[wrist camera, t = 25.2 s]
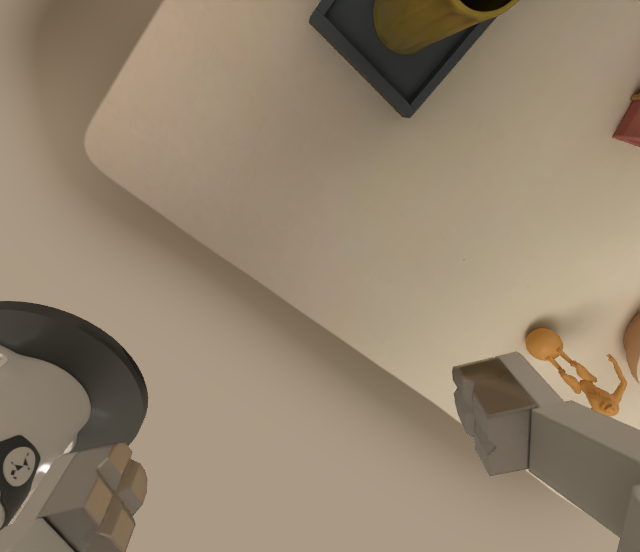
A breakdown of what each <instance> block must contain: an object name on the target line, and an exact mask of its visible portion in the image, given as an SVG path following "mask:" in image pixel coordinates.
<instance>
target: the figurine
mask: <svg viewBox="0 0 640 552" xmlns="http://www.w3.org/2000/svg"><path fill="white" fill-rule="evenodd" d="M526 348H527V350H528V352H529V353H530V354H531V355H532V356H533V357H535V358H537V359H539V360H544V361H550V362H551V363H552V364H553V365H554V366H555V367H556V368H557V369H558V370H559V371H558V372H559V374H560V375H561V377H562V378H563V380H564V381H565V382H566V383H567V384H568V385H569V386H570V387H571V388H572V389H573V390H574V392H575V393H577V394H579V393H581V390H582V391H583V392H584V393H585V394H586V397H587V398H588V401H589V403H590V404H591V406H592V408H591V409H592V410H595V411H597V412H599V413H601V414H604V415H606V416H614V415H616V414H617V413H618V411H619V406H618V403H619V402H620V401H621V398H622V394H623V392H624V390H625V388H626V386H627V382H626V380H625V378H624V377H623V375H622V372H621V370H620V367H619V366H618V364H617V362H616V360H615V359H614V358H613V357H612V356H611V355H609V354H608V355H609V356H610V357H609V356H608V355H606V356H608V357H609V358H610V359H611V360H609V359H608V360H609V361H611V362H613V363H614V368H615V371H616V373H617V375H618V377H619V379H620V381H621V383H620V385H619V386H618V387H617V389H616V391H615V392H614V393H613V394H609V393H608V392H606V391H604V390H602V389H600V388H598V387H596V386H595V385H594V384H593V383H592V382H597V378H596V377H594V376H593V375H592V374H590V373H589V372H588V370H587V369H586V368H585V367H583V366H582V365H581V364H579V363H577V362H576V361H572V360H571V359H570V358H569V357H568V356H567V355H566V354H565V353H564V352H563V350H562V349H563V343H562V340H561V338H560V336H559V335H558V334H557V333H555V332H554V331H552V330H550V329H546V328H539V329H536V330H533V331H532V332H530V333H529V335H528V336H527V338H526ZM559 355H560V356H562V357H563V358H564V359H565V360H566V361H567V362H569V363H570V365H571V366H573V367H575V368H576V370H577V374H578V375H579V376H580V377H581V378H582V379H584V380H580V383H579V382H578V381H577V379H576V378H575V377H573V376H570V375H567V374H566V373H565V370H564V369H562V368H561V366H560V365H559V364H558V363H557V362H556V361H555V360H554V359H555V358H557V357H558V356H559Z"/></svg>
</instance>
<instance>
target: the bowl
mask: <svg viewBox="0 0 640 552" xmlns="http://www.w3.org/2000/svg"><path fill="white" fill-rule="evenodd" d="M624 346H625V349H626V351H627V362H628V365H629V368H630V371H631V373H632V375H633V377H634V378H635V379H636V381H637V382H638V383H639V384H640V312H639V313H638V314H637V315H636V316H635V318H634V319H633V320H632V322H631V323H630V324H629V326H628V328H627V330H626V333H625V337H624Z"/></svg>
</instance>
